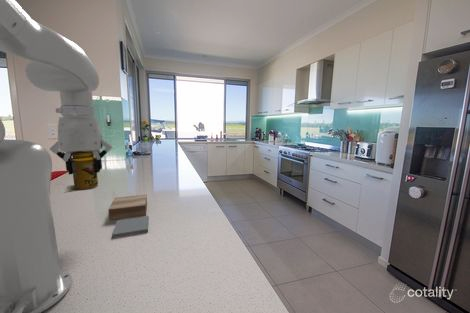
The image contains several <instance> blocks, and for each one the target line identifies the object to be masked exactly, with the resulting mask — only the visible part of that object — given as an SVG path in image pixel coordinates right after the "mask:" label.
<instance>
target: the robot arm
mask: <svg viewBox="0 0 470 313" xmlns="http://www.w3.org/2000/svg"><path fill="white" fill-rule="evenodd" d="M0 52H1V53H5V54H9V55H11V56H14V57H16V58H17V57H18V58H21V59H25V60H29V62H27V63H26V65H25V69H24V72H25V76H26V78H27V79H28V81H29V82H30V83H31V84H32V85H33V86H34V87H36V88H38V89H40V90H41V91H42V90H43V91H47V92H59V98H60V107H59V108H58V107H56V108H55V113H56V114H61V116H62V117H58V122H57V141H56V142H55V143H54V144H53V145H52V146H51V147H50V148H49V151H51V152H52V153H53V154H55V155H56V156H57V157H58V158H60V159H62V161H63V162H64V163H65V168H66V169H65V171H66V172H68V175H73V170H72V162H71V160H72V158H73V156H72V152H78V151H83V152H89V151H92V152H93V154H94V157H95V159H96V160H94V163H95V172H96V173H97V174H98V173H100V172H101V170H102V169H103V163H102V162H103V160H102V159H103V157H104V156H105V155H106V154H107V153H109V151H110V150H111V149H113V146H112V145H111V144H110V143H109V142H107V141H106V140H105V139H103V137H102V132H101V126H100V123H99V119H98V118H97V117H95V111H94V110H95V108H94V99H93V98H94V97H93V91H96V90H97V89H98V87H99V84H100V77H99V74H98V71H97V68H96V67H95V66H94V63H93V62H92V61H91V59H90V58H89V56H88V55H87V54H86V53H85V51H84V50H83V49H82V48H81V47H80V46H79V45H77V44H76V43H75V42H73V41H71V40H70V39H68V38H66V36H64V35H61V34H60V33H58V32H57V31H55V30H53V29H51V28H50V27H48V26H45V25H43V24H42V23H40V22H38V21H36V20H34V19H32V18H31V16H30V15H29V14H28V13H27V12H26V11H25V10H24V9H23V7H22V6H21V5H20V3H18V2H17V1H16V0H0ZM5 127H6V126H5V125H4V123H3V121H2V119H1V118H0V313H42V312H44V311H46V310H48V309H50V307H52V306H54V305H55V304H57V303H58V302H59V301H60V300H61V299H62V298H63V297H64V296H65V295H66V294H67V293H68V291H69V290H70V288H71V286H72V282H73V280H72V275H71V273H69V272H68V271H66V270H64V269H63V270H62V269H61V263H60V256H59V249H58V243H57V237H56V236H57V235H56V229H55V228H56V227H55V222H54V216H53V210H52V200H51V180H52V171H53V161H52V156H51V155H50V153H49V151H48V150H47V149H46V148H45V147H44V146H42V145H40V144H38V143H36V142H33V141H29V140H21V139H5V137H6V128H5ZM103 146H104V149H103ZM101 149H103V150H102V151H100V150H101Z"/></svg>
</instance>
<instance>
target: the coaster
mask: <svg viewBox="0 0 470 313" xmlns="http://www.w3.org/2000/svg"><path fill="white" fill-rule="evenodd" d="M149 219H150V218H149V215H144V216H137V217H129V218H122V219H116V220H117V221H116V223H115V226H114V228H113V231H112V234H111V237H112V238H118V237H124V236H125V237H126V236H130V235H131V236H132V235H137V234H142V233H148V232H149V221H150V220H149Z"/></svg>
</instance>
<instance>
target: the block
mask: <svg viewBox="0 0 470 313" xmlns="http://www.w3.org/2000/svg"><path fill="white" fill-rule="evenodd" d="M147 196H148V194H140V195H139V194H138V195H129V196H121V197H120V196H119V197H114V198H113V200H112V201H111V204H110V206H109V208H108V218H109V221H114V220H121V219H128V218H135V217H143V216H147V208H148V197H147Z"/></svg>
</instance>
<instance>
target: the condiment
mask: <svg viewBox="0 0 470 313" xmlns="http://www.w3.org/2000/svg"><path fill="white" fill-rule="evenodd" d="M95 158H96V157H95V156H94V154H93V152H92V151H89V152H83V151H78V152H72V160H71V162H72V170H73V174H72V179H73V184H72V185H67V186H66V189H65V191H64V193H72V192H80V191H90V190H96V189H100V187H101V185H100V182H99V179H98V173H96V172H95V163H94V160H96V159H95Z"/></svg>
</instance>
